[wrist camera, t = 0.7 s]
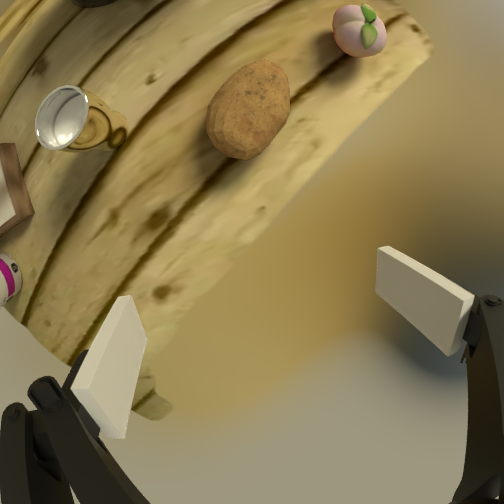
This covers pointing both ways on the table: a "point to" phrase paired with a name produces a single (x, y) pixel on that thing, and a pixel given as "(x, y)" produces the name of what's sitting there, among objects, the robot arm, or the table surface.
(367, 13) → the decorative fruit
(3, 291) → the supplement can
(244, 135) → the potato
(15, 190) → the base
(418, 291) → the robot arm
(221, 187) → the table surface
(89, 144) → the metal tumbler
